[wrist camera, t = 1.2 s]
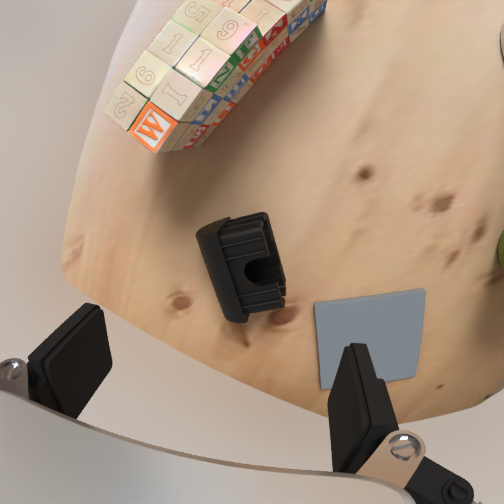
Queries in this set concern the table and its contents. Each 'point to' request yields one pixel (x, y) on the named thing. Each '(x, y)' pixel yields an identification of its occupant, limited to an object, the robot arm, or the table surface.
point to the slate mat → (372, 332)
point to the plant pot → (501, 250)
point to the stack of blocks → (204, 67)
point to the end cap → (243, 265)
